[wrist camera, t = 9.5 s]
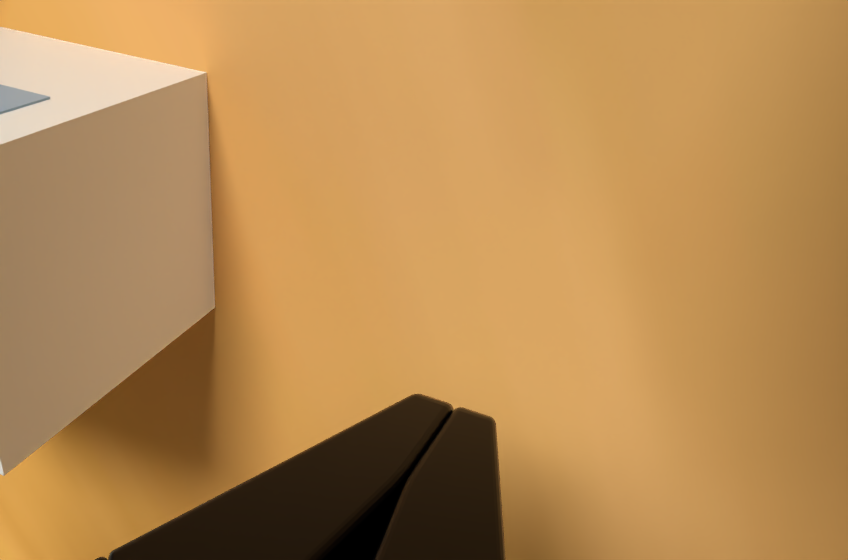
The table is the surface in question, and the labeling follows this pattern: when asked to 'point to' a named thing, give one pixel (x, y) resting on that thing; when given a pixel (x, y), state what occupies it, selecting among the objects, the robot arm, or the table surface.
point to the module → (94, 226)
